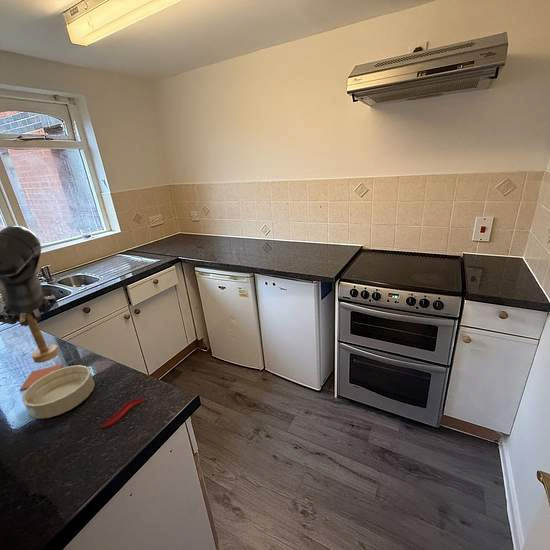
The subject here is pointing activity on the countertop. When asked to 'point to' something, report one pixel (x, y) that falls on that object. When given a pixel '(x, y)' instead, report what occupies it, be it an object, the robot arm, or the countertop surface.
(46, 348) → the wooden pestle
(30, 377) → the spoon rest
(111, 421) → the cayenne pepper
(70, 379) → the bowl
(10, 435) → the countertop surface
